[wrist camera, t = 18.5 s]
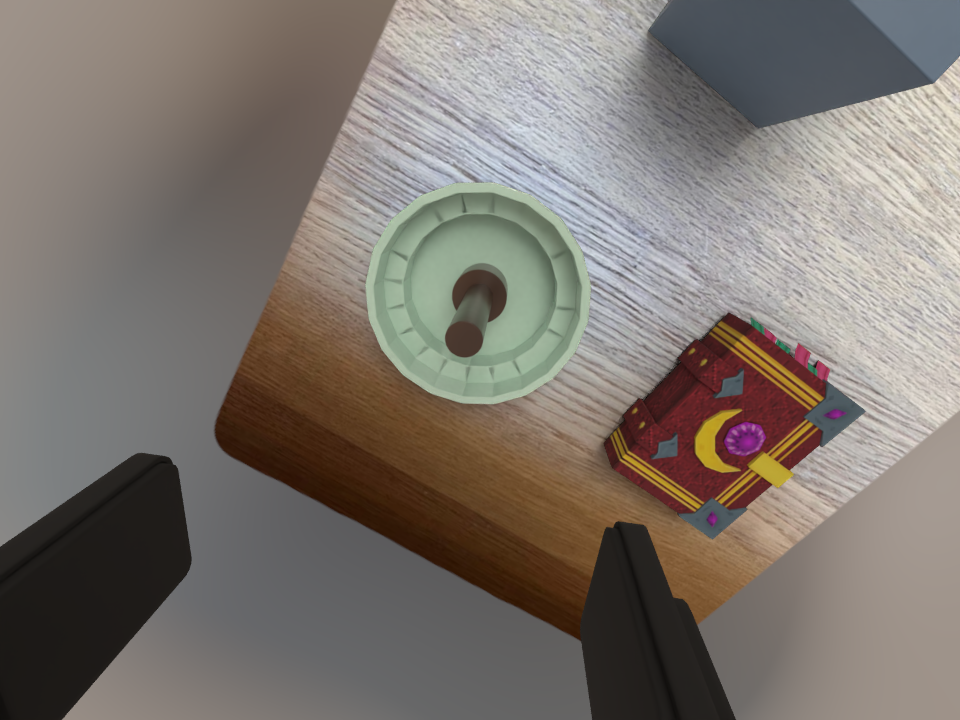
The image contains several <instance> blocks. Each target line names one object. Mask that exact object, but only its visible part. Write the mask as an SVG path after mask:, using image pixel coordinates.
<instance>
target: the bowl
mask: <svg viewBox="0 0 960 720" xmlns="http://www.w3.org/2000/svg"><path fill="white" fill-rule="evenodd" d="M478 263H486V264H490V265H493V266H495V267H496V268H498V269H499V270H500V271H501V272H502V273H503V275H504V276H505V278H506V281H507V285H508V293H507V301H506V305H505V308H504V310H503V312H502V313H501V314H500V315H499V316H498V317H497V318H496V319H494V320H493V321H491V322H488V323H487V327H486V332H485V336H484V340H483V345H482V347H481V349H480V351H479V352H478V353H477V354H475V355H473V356H471V357H467V358H463V357H458V356H456V355H454V354H453V353H451V352H450V351H449V349H448V348H447V346H446V343H445V334H446V331H447V329H448V327H449V325H450V323H451V321H452V319H453V317H454V315H455V313H456V309H455V307H454V305H453V301H452V291H453V287H454V285H455V283H456V281H457V280H458V278H459V277H460V275H461V274H462V273H463V271H464V270H465V269H467V268H468V267H470V266H471V265H474V264H478ZM365 284H366V285H365V288H366V298H367V308H368V318H369V321H370V323H371V326H372V328H373V330H374V333H375V335H376V337H377V340H378V342H379V344H380V347H381V349H382V351H383V352H384V353H385V354H386V355H387V357H388V358H389V359H390V360H391V361H392V363H393V364H394V365H395V366H396V367H397V369H398V370H399V371H400V372H401V373H402V375H404V376H405V377H407V378H408V379H409V380H411V381H412V382H414V383H415V384H417V385H418V386H420V387H421V388H423V389H424V390H426V391H427V392H429V393H431V394H434V395H437V396H440V397H443V398H446V399H449V400H453V401H456V402H459V403H466V404H496V403H500V402H504V401H508V400H511V399H515V398H519V397H522V396H525V395H527V394H529V393H530V392H532V391H534V390H535V389H537V388H539V387H540V386H542V385H543V384H545V383H547V382H548V381H550V380H551V379H553V378H554V377H555V376H556V374H557V373H558V372H559V371H560V370H561V369H562V368H563V366H564V365H565V364H566V363H567V362H568V361H569V359H570V358H571V357H572V356H573V355H574V353H575V352H576V349H577V347H578V345H579V342H580V340H581V338H582V335H583V333H584V330H585V328H586V326H587V323H588V320H589V306H590V293H591V283H590V280H589V276H588V272H587V268H586V264H585V260H584V256H583V252H582V250H581V248H580V246H579V245H578V243H577V242H576V240H575V239H574V237H573V236H572V234H571V233H570V231H569V230H568V228H567V226H566V225H565V223H564V222H563V220H562V219H561V218H560V217H559V216H557V215H556V214H555V213H554V212H552V211H551V210H550V209H548V208H547V207H546V206H544V205H543V204H542V203H541V202H539V201H538V200H537V199H535V198H534V197H533V196H531V195H530V194H527V193H524V192H521V191H518V190H515V189H512V188H509V187H506V186H503V185H500V184H497V183H493V182H490V183H454V184H451V185H448V186H446V187H443V188H440V189H437V190H435V191H432V192H429V193H427V194H424V195H421V196H419V197H418V198H417V199H415V200H414V201H413V202H412V203H411V204H409V205H408V206H407V207H406V208H405V209H403V210H402V211H401V212H400V213H399V214H397V215H396V216H395V217H394V218H393V219H392V220H391V221H390V222H389V224H388V226H387V227H386V229H385V231H384V232H383V234H382V236H381V237H380V239H379V241H378V242H377V244H376V246H375V247H374V249H373V251H372V256H371V260H370V265H369V269H368V274H367V279H366V283H365Z"/></svg>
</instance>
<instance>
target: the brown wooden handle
mask: <svg viewBox="0 0 960 720" xmlns="http://www.w3.org/2000/svg"><path fill="white" fill-rule="evenodd" d="M507 293H508V285H507V281H506V278H505V276H504V275H503V273H502V272H501V271H500V270H499V269H498V268H496V267H495V266H493V265H490V264H486V263H478V264H474V265H471V266H470V267H468V268H467V269H465V270H464V271H463V273H462V274H461V275H460V277H459V278H458V280H457V281H456V283H455V285H454V287H453V291H452V301H453V305H454V307H455V309H456V313H455V315H454V317H453V319H452V321H451V323H450V325H449V327H448V329H447V331H446V334H445V343H446V346H447V348H448V349H449V351H450V352H451V353H453V354H454V355H456V356H458V357H463V358H467V357H471V356H473V355H475V354H477V353H478V352H479V351H480V349H481V347H482V345H483V340H484V336H485V332H486V327H487V323H488V322H491V321H493V320H494V319H496V318H497V317H498V316H499V315H500V314H501V313H502V312H503V310H504V308H505V305H506V301H507Z"/></svg>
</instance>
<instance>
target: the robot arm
mask: <svg viewBox="0 0 960 720" xmlns="http://www.w3.org/2000/svg"><path fill="white" fill-rule="evenodd" d="M190 565H191V551H190V544H189V538H188V531H187V525H186V518H185V512H184V505H183V498H182V492H181V485H180V479H179V473H178V468H177V467H176V465H173V463H172V461H171V459H170V458H169V457H166V456H160V455H152V454H146V453H137V454H135V455H133V456H131V457H130V458H128V459H127V460H126V461H124V462H123V463H121V464H120V465H118V466H117V467H115V468H114V469H112V470H111V471H110V472H108V473H107V474H105V475H104V476H102V477H101V478H99V479H98V480H97V481H95V482H94V483H92V484H91V485H89V486H88V487H86V488H85V489H83V490H82V491H81V492H79V493H78V494H76V495H75V496H73V497H72V498H70V499H69V500H67V501H66V502H65V503H63V504H62V505H60V506H59V507H57V508H56V509H54V510H53V511H51V512H50V513H49V514H47V515H46V516H44V517H43V518H41V519H40V520H38V521H37V522H36V523H34V524H33V525H31V526H30V527H28V528H27V529H25V530H24V531H22V532H21V533H20V534H18V535H17V536H15V537H14V538H12V539H11V540H9V541H8V542H6V543H5V544H3V545H2V546H1V547H0V720H62V719H63V718H64V717H65V715H66V714H67V713H68V712H69V711H70V710H71V708H72V707H73V706H74V705H75V704H76V703H77V702H78V700H79V699H80V698H81V697H82V696H83V695H84V693H85V692H86V691H87V690H88V689H89V688H90V687H91V685H92V684H93V683H94V682H95V681H96V680H97V678H98V677H99V676H100V675H101V674H102V673H103V671H104V670H105V669H106V668H107V667H108V666H109V664H110V663H111V662H112V661H113V660H114V659H115V657H116V656H117V655H118V654H119V653H120V652H121V651H122V649H123V648H124V647H125V646H126V645H127V644H128V642H129V641H130V640H131V639H132V638H133V637H134V635H135V634H136V633H137V632H138V631H139V630H140V629H141V627H142V626H143V625H144V624H145V623H146V621H147V620H148V619H149V618H150V617H151V616H152V615H153V613H154V612H155V611H156V610H157V609H158V608H159V606H160V605H161V604H162V603H163V602H164V601H165V600H166V598H167V597H168V596H169V595H170V594H171V592H172V591H173V590H174V589H175V588H176V587H177V585H178V584H179V583H180V582H181V581H182V580H183V578H184V577H185V576H186V575H187V573H188V571H189V569H190ZM580 633H581V643H582V650H583V657H584V663H585V671H586V678H587V685H588V692H589V699H590V707H591V714H592V720H736V719H735V716H734V714H733V711H732V709H731V707H730V704H729V702H728V699H727V697H726V694H725V692H724V690H723V687H722V685H721V682H720V680H719V678H718V675H717V673H716V670H715V668H714V666H713V663H712V660H711V658H710V656H709V653H708V651H707V649H706V646H705V644H704V641H703V639H702V636H701V634H700V631H699V629H698V626H697V624H696V622H695V619H694V617H693V614H692V612H691V610H690V608H689V606H688V604H687V603H686V602H685V601H684V600H683V599H678V598H673V596H672V593H671V590H670V588H669V585H668V582H667V580H666V577H665V575H664V572H663V569H662V567H661V564H660V562H659V559H658V556H657V554H656V551H655V548H654V546H653V543H652V541H651V538H650V535H649V533H648V530H647V528H646V527H645V526H644V525H640V524H633V523H626V522H619V521H618V522H616V523H615V525H614V527H613V528H610V527H606V529H605V531H604V535H603V538H602V542H601V546H600V550H599V554H598V557H597V561H596V565H595V569H594V572H593V576H592V580H591V584H590V587H589V591H588V595H587V599H586V603H585V606H584V610H583V614H582V618H581V627H580Z"/></svg>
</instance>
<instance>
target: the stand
mask: <svg viewBox="0 0 960 720" xmlns="http://www.w3.org/2000/svg"><path fill="white" fill-rule="evenodd" d="M648 31H649V32H650V33H651V34H652V35H653V36H654V37H655V38H656V39H658V40H659V41H660V42H661V43H662V44H663V45H664V46H665V47H667V48H668V49H669V50H670V51H671V52H672V53H673V54H675V55H676V56H677V57H678V58H679V59H680V60H681V61H682V62H684V63H685V64H686V65H687V66H688V67H689V68H690V69H692V70H693V71H694V72H695V73H696V74H697V75H698V76H700V77H701V78H702V79H703V80H704V81H705V82H706V83H707V84H709V85H710V86H711V87H712V88H713V89H714V90H715V91H717V92H718V93H719V94H720V95H721V96H722V97H723V98H724V99H726V100H727V101H728V102H729V103H730V104H731V105H732V106H734V107H735V108H736V109H737V110H738V111H739V112H740V113H741V114H743V115H744V116H745V117H746V118H747V119H748V120H749V121H751V122H752V123H753V124H754V125H755V126H756V127H757V128H762V127H766V126H770V125H774V124H778V123H782V122H785V121H789V120H793V119H797V118H801V117H805V116H809V115H813V114H816V113H820V112H824V111H828V110H832V109H836V108H840V107H844V106H847V105H851V104H855V103H859V102H863V101H867V100H871V99H875V98H878V97H882V96H886V95H890V94H894V93H898V92H902V91H906V90H909V89H913V88H917V87H921V86H925V85H929V84H933V83H934V82H935V81H936V80H937V79H938V78H939V77H940V76H941V75H942V74H943V73H944V72H945V71H946V70H947V69H948V68H949V67H950V66H951V65H952V64H953V63H954V62H955V61H956V60H957V58H958V57H959V56H960V0H669V2H668V3H667V5H666V6H665V7H664V9H663V10H662V12H661V13H660V15H659V16H658V17H657V19H656V20H655V22H654V23H653V24H652V26H651V27H650V29H649V30H648Z"/></svg>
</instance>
